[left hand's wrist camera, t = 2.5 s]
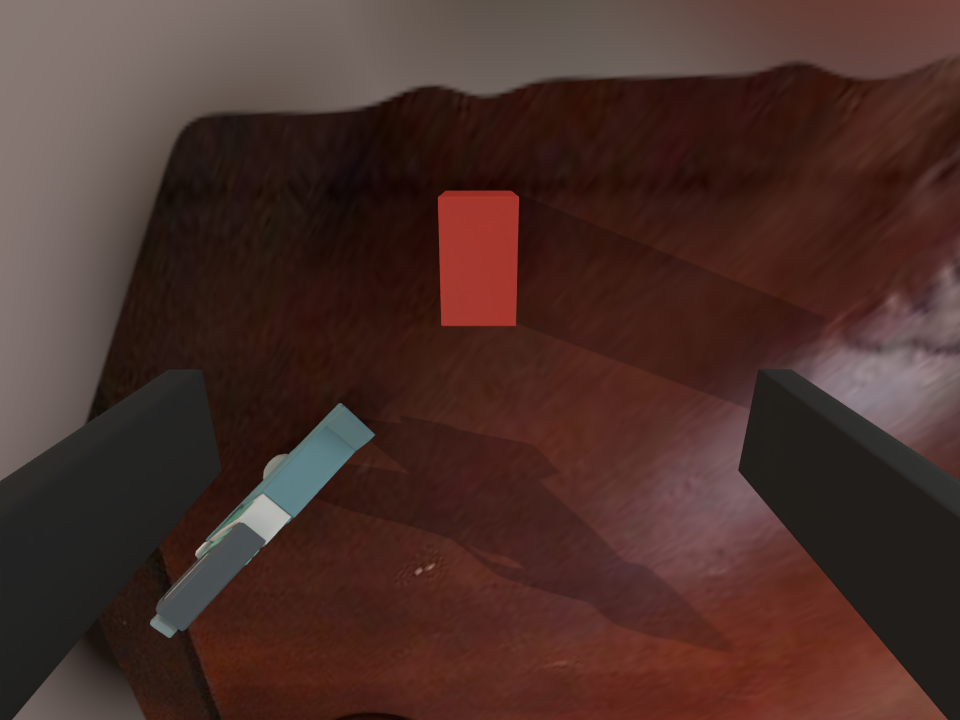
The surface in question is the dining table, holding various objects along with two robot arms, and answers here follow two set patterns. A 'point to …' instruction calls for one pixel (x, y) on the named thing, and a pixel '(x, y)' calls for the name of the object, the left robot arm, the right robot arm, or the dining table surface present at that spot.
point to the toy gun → (261, 516)
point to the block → (478, 257)
